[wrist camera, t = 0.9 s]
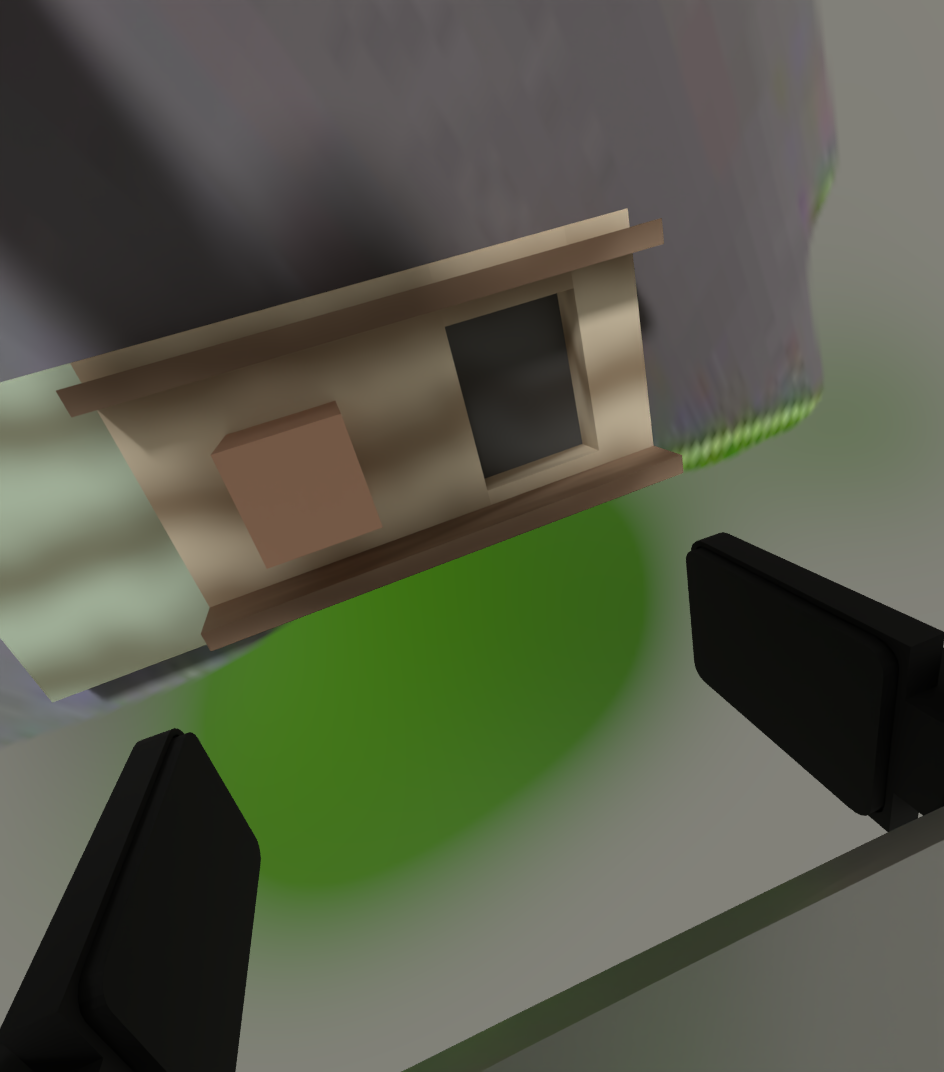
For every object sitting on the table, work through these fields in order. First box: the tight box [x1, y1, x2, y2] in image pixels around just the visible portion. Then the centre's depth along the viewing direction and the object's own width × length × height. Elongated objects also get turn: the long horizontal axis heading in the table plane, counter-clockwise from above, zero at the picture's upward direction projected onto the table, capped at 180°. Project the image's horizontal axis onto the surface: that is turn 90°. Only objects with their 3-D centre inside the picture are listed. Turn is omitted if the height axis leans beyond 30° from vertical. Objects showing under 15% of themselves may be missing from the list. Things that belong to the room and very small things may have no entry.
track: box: [0, 208, 683, 702], centre depth 29 cm, size 16×40×6 cm, turn 105°
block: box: [211, 401, 383, 569], centre depth 27 cm, size 6×6×5 cm
